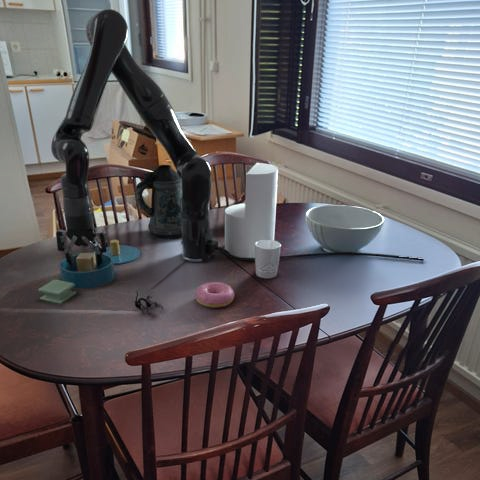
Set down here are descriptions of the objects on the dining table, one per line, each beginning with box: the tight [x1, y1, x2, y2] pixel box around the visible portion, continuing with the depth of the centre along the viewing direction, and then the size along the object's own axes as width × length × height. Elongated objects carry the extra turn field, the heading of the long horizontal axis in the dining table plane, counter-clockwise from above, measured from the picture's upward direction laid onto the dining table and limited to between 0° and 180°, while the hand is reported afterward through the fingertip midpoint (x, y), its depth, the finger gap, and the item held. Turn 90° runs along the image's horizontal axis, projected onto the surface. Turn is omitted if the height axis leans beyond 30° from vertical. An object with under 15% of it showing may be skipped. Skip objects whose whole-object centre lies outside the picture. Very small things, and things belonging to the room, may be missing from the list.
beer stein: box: [134, 164, 182, 241], centre depth 174 cm, size 16×19×25 cm
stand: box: [38, 279, 77, 304], centre depth 133 cm, size 7×7×4 cm
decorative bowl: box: [304, 204, 385, 253], centre depth 168 cm, size 27×27×12 cm
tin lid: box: [91, 239, 141, 266], centre depth 159 cm, size 16×16×6 cm
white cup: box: [254, 239, 282, 279], centre depth 148 cm, size 8×8×10 cm
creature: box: [133, 290, 164, 318], centre depth 127 cm, size 8×5×8 cm
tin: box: [59, 253, 116, 290], centre depth 144 cm, size 15×15×6 cm
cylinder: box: [224, 162, 279, 258], centre depth 162 cm, size 17×17×28 cm
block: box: [76, 252, 98, 272], centre depth 143 cm, size 4×4×7 cm
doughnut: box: [194, 281, 235, 309], centre depth 133 cm, size 11×11×4 cm
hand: (85, 264), depth 143 cm, fingers open, 8 cm apart
